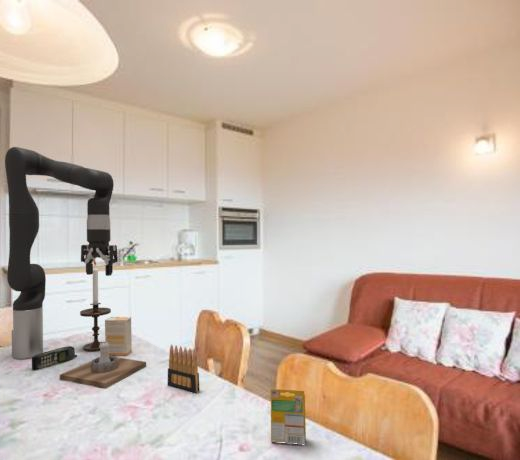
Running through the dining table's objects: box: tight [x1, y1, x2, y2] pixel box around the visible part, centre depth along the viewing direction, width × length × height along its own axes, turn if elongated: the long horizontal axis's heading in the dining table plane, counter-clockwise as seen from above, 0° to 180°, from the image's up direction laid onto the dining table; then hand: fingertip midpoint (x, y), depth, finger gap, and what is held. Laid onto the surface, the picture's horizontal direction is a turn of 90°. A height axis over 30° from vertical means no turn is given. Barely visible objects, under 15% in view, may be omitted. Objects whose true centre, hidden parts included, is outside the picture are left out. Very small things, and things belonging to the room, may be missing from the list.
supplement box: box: [104, 316, 133, 356], centre depth 135 cm, size 8×5×13 cm, turn 84°
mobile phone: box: [31, 345, 78, 371], centre depth 126 cm, size 5×3×15 cm
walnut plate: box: [59, 357, 147, 389], centre depth 117 cm, size 18×18×2 cm
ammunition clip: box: [166, 344, 200, 394], centre depth 105 cm, size 11×2×12 cm, turn 60°
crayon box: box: [270, 388, 307, 445], centre depth 79 cm, size 7×3×12 cm, turn 81°
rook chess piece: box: [98, 341, 111, 363], centre depth 117 cm, size 4×4×8 cm
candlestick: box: [79, 259, 112, 353], centre depth 142 cm, size 11×11×35 cm
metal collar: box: [91, 355, 120, 373], centre depth 117 cm, size 8×8×2 cm
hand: (99, 275), depth 127 cm, fingers open, 8 cm apart
